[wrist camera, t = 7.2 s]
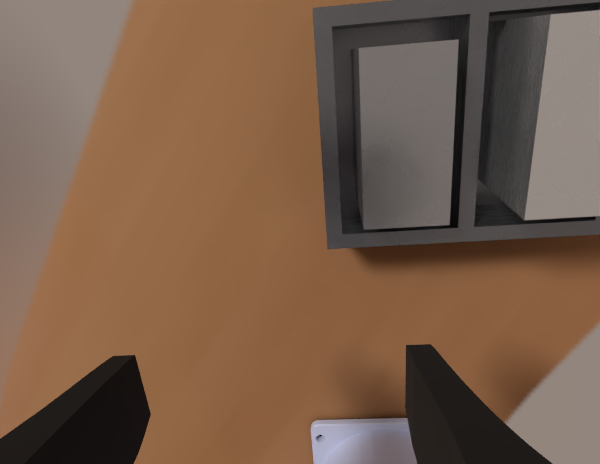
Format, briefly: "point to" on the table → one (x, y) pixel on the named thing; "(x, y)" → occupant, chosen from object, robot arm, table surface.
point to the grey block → (543, 115)
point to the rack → (415, 123)
